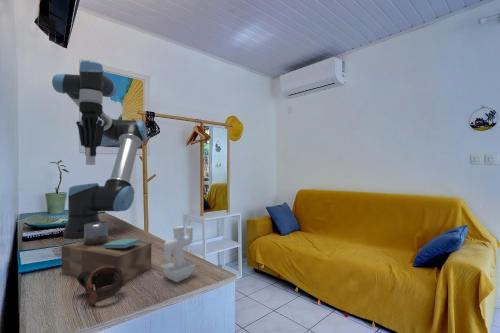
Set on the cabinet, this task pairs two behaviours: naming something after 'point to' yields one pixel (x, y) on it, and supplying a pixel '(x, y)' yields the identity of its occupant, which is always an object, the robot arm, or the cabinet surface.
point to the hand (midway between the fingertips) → (90, 164)
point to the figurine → (178, 255)
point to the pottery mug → (101, 283)
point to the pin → (95, 233)
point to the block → (106, 258)
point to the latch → (122, 243)
